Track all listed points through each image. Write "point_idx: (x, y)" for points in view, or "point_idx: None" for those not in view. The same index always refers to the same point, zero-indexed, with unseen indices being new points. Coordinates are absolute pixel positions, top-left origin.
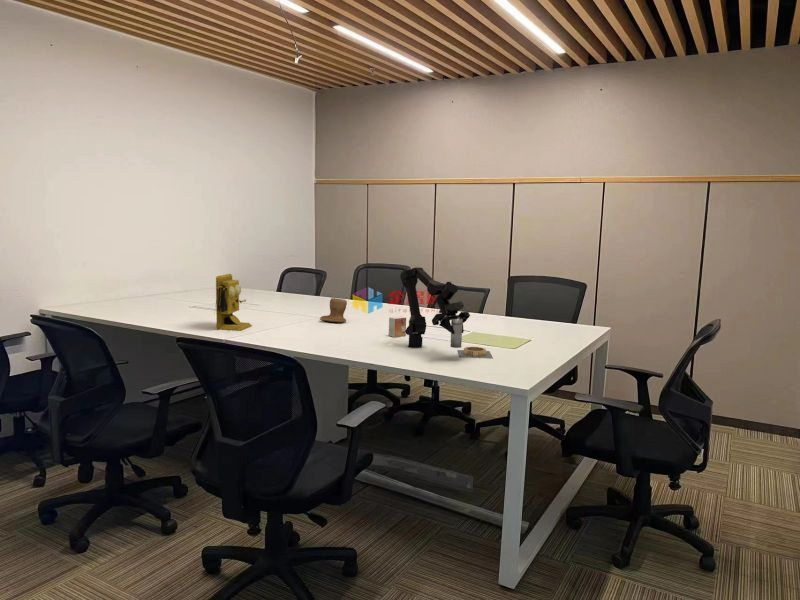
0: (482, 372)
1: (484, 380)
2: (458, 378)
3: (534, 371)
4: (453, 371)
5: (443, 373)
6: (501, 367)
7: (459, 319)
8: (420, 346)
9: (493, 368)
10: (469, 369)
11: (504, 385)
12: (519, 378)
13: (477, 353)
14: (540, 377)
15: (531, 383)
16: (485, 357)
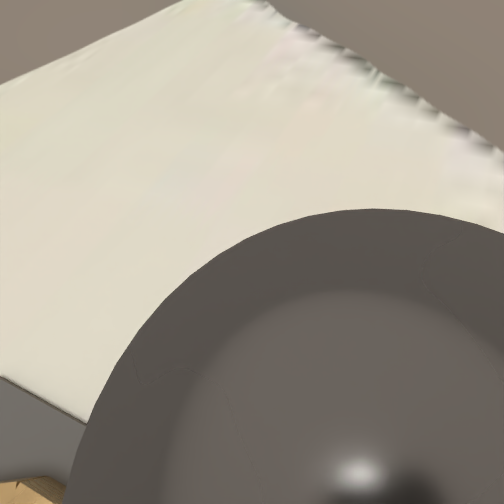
0: (258, 146)
1: (312, 60)
2: (413, 95)
3: (18, 116)
4: (402, 188)
5: (469, 169)
6: (103, 200)
7: (334, 301)
8: None
9: (158, 192)
10: (296, 203)
11: (270, 13)
12: (160, 57)
13: (40, 485)
14: (74, 54)
15: (165, 15)
16: (19, 427)
